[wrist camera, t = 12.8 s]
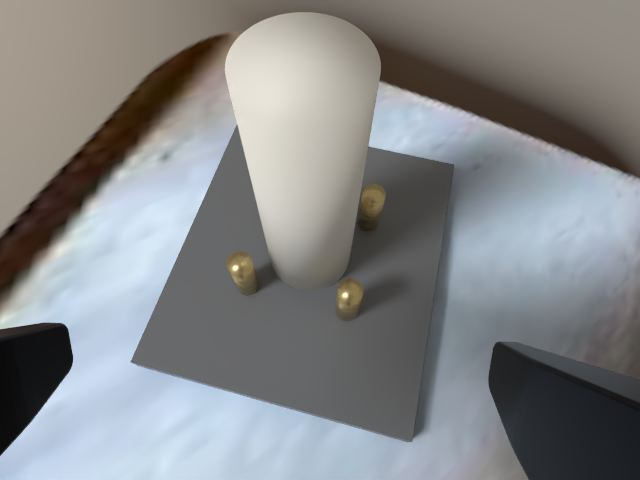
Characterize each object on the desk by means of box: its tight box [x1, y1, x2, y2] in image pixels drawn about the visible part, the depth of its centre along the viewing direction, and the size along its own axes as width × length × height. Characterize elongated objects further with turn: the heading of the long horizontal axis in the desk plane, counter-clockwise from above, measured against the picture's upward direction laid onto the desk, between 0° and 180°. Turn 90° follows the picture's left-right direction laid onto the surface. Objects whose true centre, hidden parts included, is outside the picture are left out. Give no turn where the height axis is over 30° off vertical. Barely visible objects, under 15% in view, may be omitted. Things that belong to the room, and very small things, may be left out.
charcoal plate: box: [131, 125, 454, 442], centre depth 23 cm, size 16×14×4 cm
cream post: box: [225, 12, 381, 291], centre depth 18 cm, size 4×4×13 cm
